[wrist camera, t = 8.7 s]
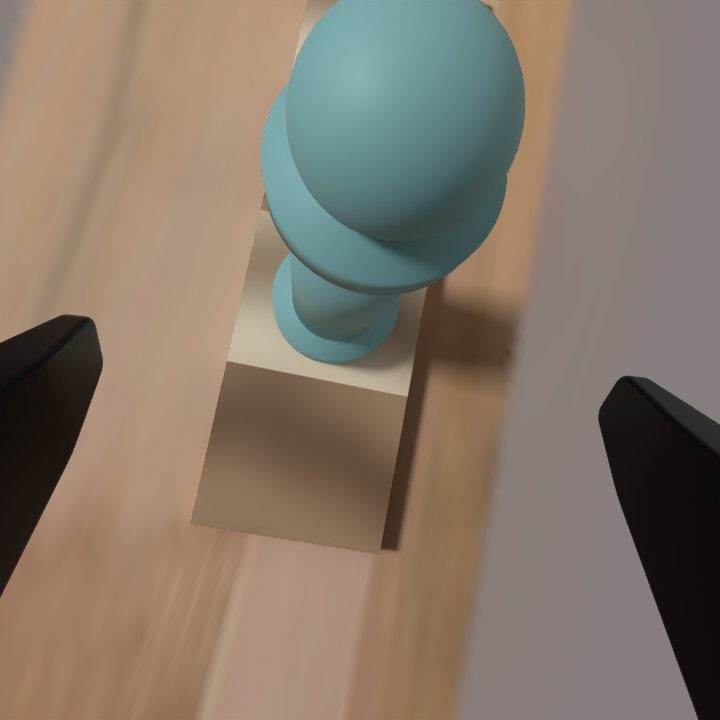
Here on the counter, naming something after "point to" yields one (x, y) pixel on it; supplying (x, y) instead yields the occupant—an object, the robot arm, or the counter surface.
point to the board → (304, 417)
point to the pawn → (386, 163)
